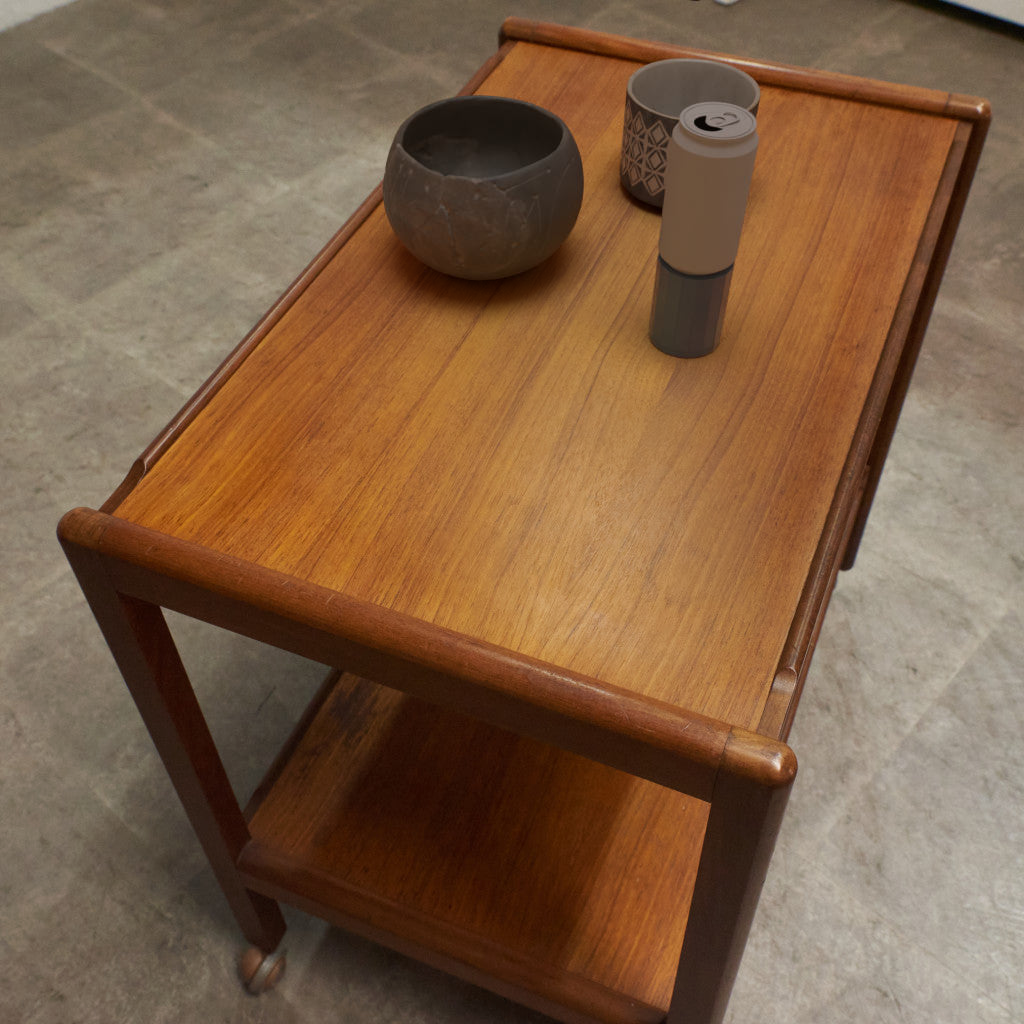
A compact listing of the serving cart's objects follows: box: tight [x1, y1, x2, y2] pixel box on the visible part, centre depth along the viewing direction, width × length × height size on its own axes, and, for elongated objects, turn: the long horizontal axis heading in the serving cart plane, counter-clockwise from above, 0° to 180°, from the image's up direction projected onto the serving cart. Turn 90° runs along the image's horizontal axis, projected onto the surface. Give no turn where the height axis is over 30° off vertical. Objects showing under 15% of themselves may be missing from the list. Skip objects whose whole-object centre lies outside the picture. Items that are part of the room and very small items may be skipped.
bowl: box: [382, 94, 585, 281], centre depth 96 cm, size 18×18×13 cm
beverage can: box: [657, 102, 760, 275], centre depth 82 cm, size 6×6×12 cm
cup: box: [648, 252, 736, 359], centre depth 90 cm, size 6×6×8 cm
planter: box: [618, 57, 762, 209], centre depth 105 cm, size 13×13×10 cm
